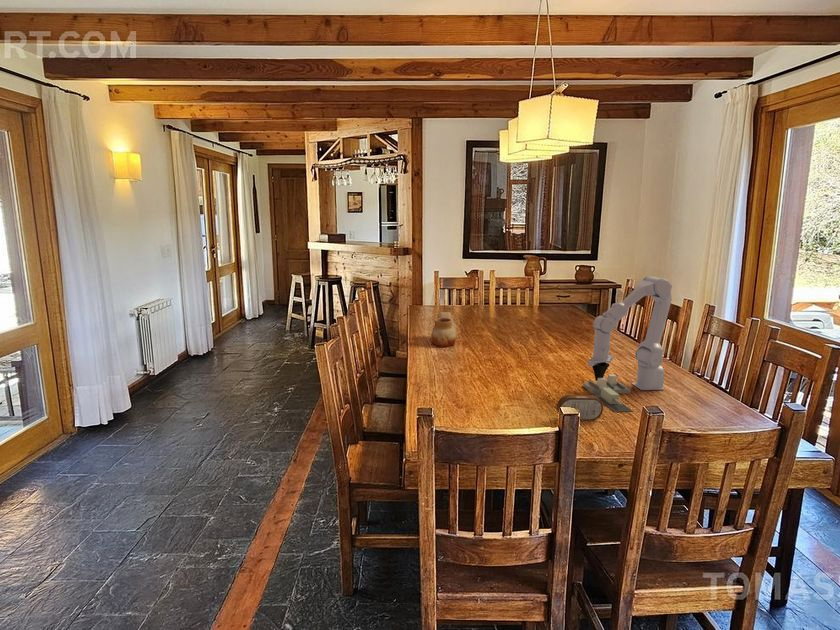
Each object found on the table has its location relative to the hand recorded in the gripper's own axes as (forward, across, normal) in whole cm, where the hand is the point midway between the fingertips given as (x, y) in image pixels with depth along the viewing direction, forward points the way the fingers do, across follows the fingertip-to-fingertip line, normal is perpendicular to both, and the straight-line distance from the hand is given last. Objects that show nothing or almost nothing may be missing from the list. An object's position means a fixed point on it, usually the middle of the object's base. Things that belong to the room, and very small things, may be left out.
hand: (598, 380), depth 202 cm
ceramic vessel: (+4, +4, +93) cm, 94 cm away
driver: (+3, -10, -12) cm, 16 cm away
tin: (+4, -33, -13) cm, 36 cm away
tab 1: (+2, -2, -2) cm, 3 cm away
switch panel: (+3, +2, -2) cm, 5 cm away
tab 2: (+2, +6, -2) cm, 6 cm away
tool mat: (+3, -10, -12) cm, 15 cm away
